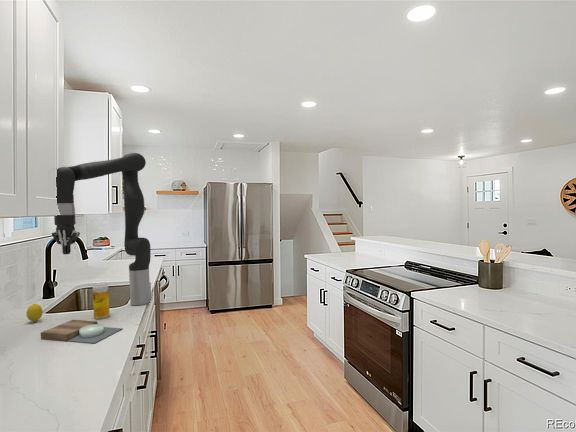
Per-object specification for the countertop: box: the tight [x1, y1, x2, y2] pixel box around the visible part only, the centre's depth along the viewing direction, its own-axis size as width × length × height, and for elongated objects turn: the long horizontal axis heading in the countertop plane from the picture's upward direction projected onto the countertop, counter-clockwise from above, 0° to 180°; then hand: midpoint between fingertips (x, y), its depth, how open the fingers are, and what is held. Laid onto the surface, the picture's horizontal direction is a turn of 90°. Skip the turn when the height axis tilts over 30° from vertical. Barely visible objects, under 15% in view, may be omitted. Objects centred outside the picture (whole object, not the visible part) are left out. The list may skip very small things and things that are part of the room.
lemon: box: [26, 303, 44, 323], centre depth 143 cm, size 6×6×8 cm
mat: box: [67, 326, 124, 345], centre depth 127 cm, size 14×12×1 cm
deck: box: [40, 319, 98, 342], centre depth 129 cm, size 14×12×2 cm
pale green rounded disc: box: [79, 323, 105, 338], centre depth 127 cm, size 8×8×2 cm
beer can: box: [92, 281, 110, 320], centre depth 147 cm, size 6×6×15 cm
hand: (66, 254), depth 143 cm, fingers closed
